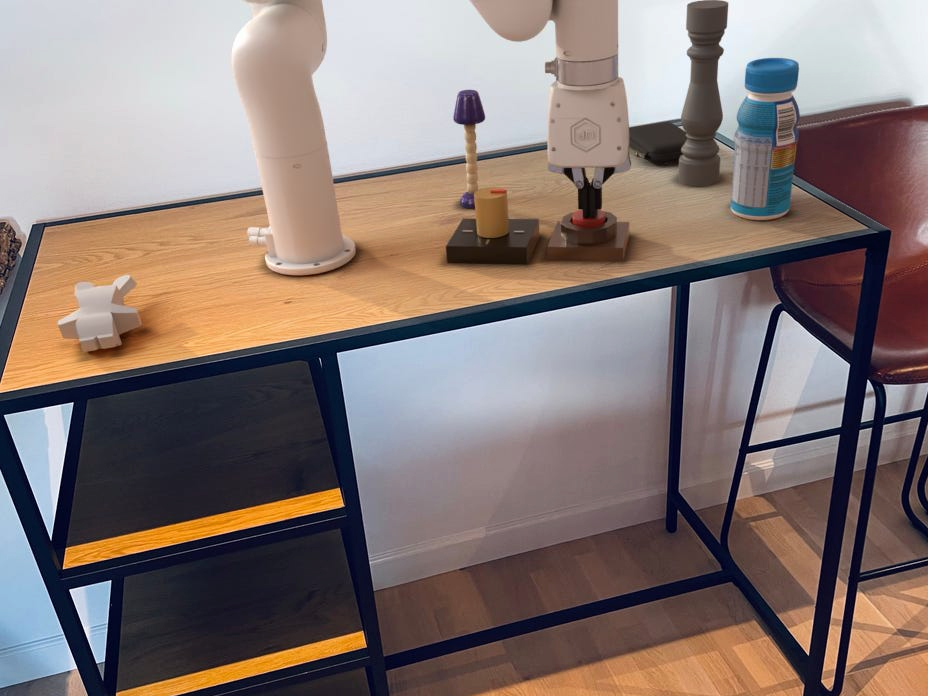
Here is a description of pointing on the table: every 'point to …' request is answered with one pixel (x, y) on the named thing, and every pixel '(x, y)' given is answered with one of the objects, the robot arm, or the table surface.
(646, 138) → the carrying case
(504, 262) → the dimmer
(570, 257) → the switch box
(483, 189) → the dimmer knob
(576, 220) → the power button
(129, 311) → the white blocky figure
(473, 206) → the toy lamp
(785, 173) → the beverage bottle
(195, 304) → the table surface
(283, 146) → the robot arm
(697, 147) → the candle holder
